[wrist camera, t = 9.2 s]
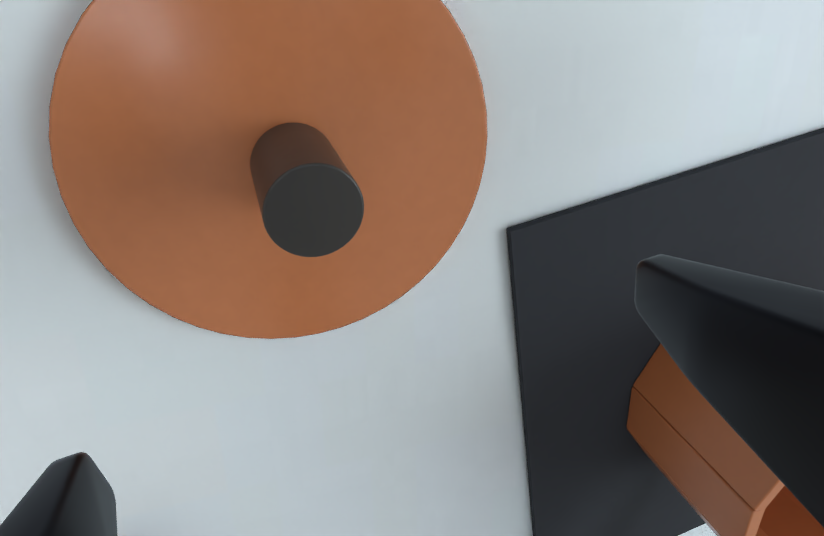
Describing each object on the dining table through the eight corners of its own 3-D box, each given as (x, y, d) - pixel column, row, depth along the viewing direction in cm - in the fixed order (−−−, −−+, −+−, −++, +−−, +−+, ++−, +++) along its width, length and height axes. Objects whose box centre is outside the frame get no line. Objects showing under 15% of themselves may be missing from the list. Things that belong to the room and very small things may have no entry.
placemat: (538, 592, 33) (540, 597, 33) (506, 228, 21) (509, 231, 20) (822, 465, 37) (826, 469, 37) (946, 88, 24) (953, 90, 24)
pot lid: (162, 377, 19) (156, 470, 16) (-54, -26, 13) (-140, -10, 9) (496, 267, 21) (552, 329, 18) (457, -124, 15) (532, -140, 12)
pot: (710, 266, 24) (871, 370, 19) (839, 310, 29) (1001, 405, 23) (497, 588, 31) (566, 737, 25) (628, 583, 36) (712, 709, 30)
